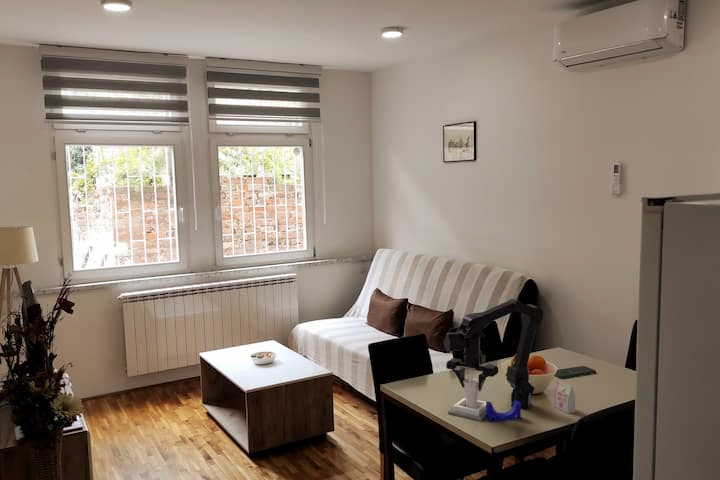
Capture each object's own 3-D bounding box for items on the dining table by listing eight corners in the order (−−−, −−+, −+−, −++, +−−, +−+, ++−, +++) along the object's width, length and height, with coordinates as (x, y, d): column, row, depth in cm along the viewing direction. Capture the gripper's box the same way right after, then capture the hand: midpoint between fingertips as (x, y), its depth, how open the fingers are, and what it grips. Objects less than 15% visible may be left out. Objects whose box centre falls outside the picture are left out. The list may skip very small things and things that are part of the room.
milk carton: (561, 405, 230) (562, 380, 228) (574, 411, 224) (575, 386, 222) (554, 407, 228) (555, 382, 227) (567, 413, 222) (568, 387, 221)
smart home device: (548, 370, 267) (583, 365, 274) (548, 374, 267) (583, 368, 274) (560, 376, 259) (596, 370, 266) (560, 380, 259) (596, 374, 267)
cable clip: (489, 422, 215) (489, 406, 214) (486, 417, 219) (486, 401, 219) (521, 421, 216) (522, 405, 215) (517, 416, 220) (518, 400, 220)
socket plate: (494, 409, 226) (494, 402, 226) (480, 421, 215) (481, 413, 215) (462, 402, 233) (462, 395, 233) (448, 413, 222) (448, 406, 222)
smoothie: (480, 403, 226) (481, 367, 225) (479, 409, 220) (480, 373, 219) (463, 401, 228) (464, 366, 226) (461, 407, 222) (462, 371, 220)
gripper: (503, 347, 223) (503, 387, 225) (457, 340, 234) (457, 378, 235) (492, 354, 214) (492, 396, 216) (445, 347, 224) (445, 387, 226)
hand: (471, 389), depth 223 cm, fingers closed on smoothie, 6 cm apart
